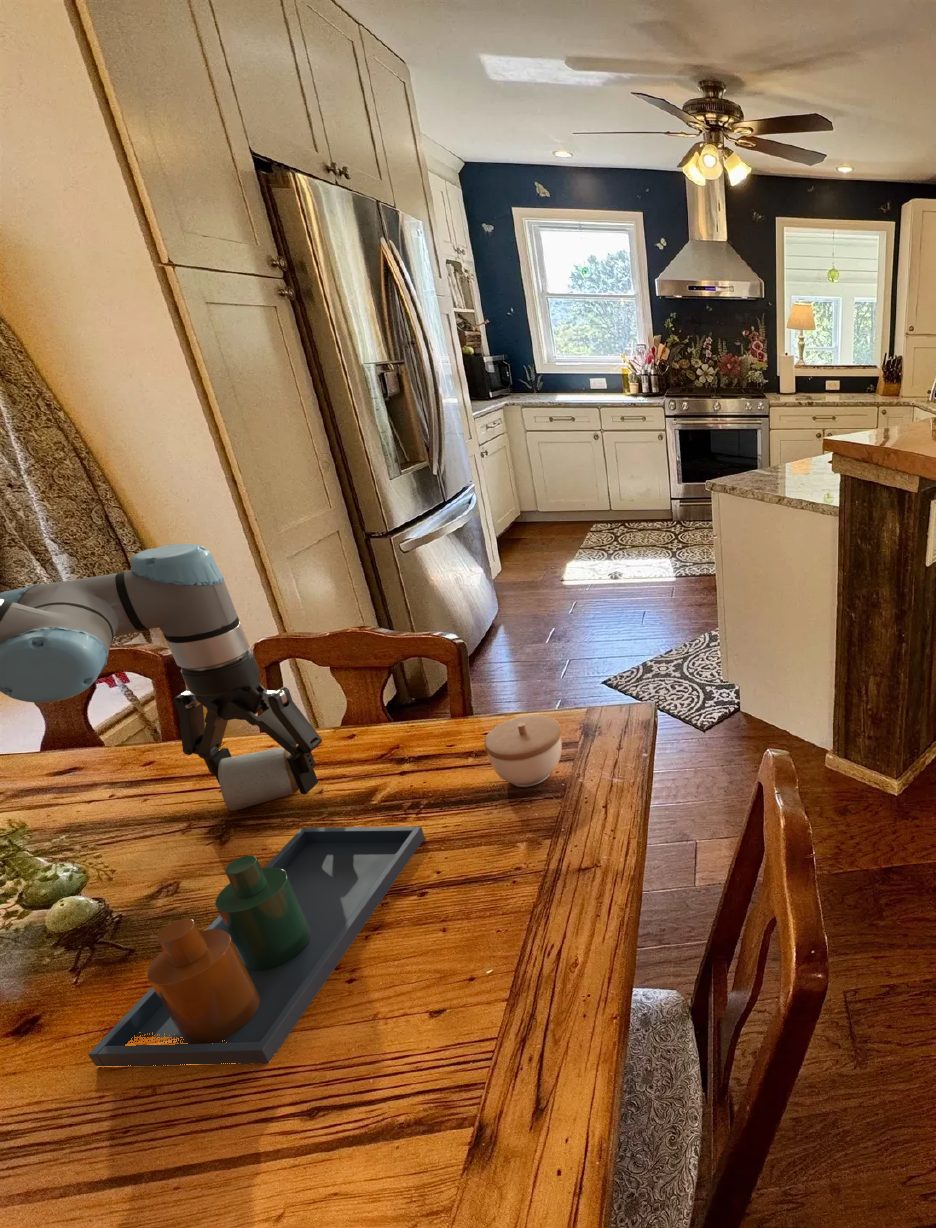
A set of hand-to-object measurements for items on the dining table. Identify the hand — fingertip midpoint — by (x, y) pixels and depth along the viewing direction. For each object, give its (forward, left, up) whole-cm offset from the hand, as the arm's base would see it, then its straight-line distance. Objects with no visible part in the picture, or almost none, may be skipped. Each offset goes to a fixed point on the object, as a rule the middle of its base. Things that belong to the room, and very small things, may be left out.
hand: (272, 788), depth 97 cm
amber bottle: (+19, -35, 0) cm, 40 cm away
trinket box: (+36, +4, -1) cm, 37 cm away
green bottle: (+19, -27, 0) cm, 33 cm away
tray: (+19, -25, -1) cm, 32 cm away
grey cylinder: (-1, 0, -1) cm, 1 cm away
